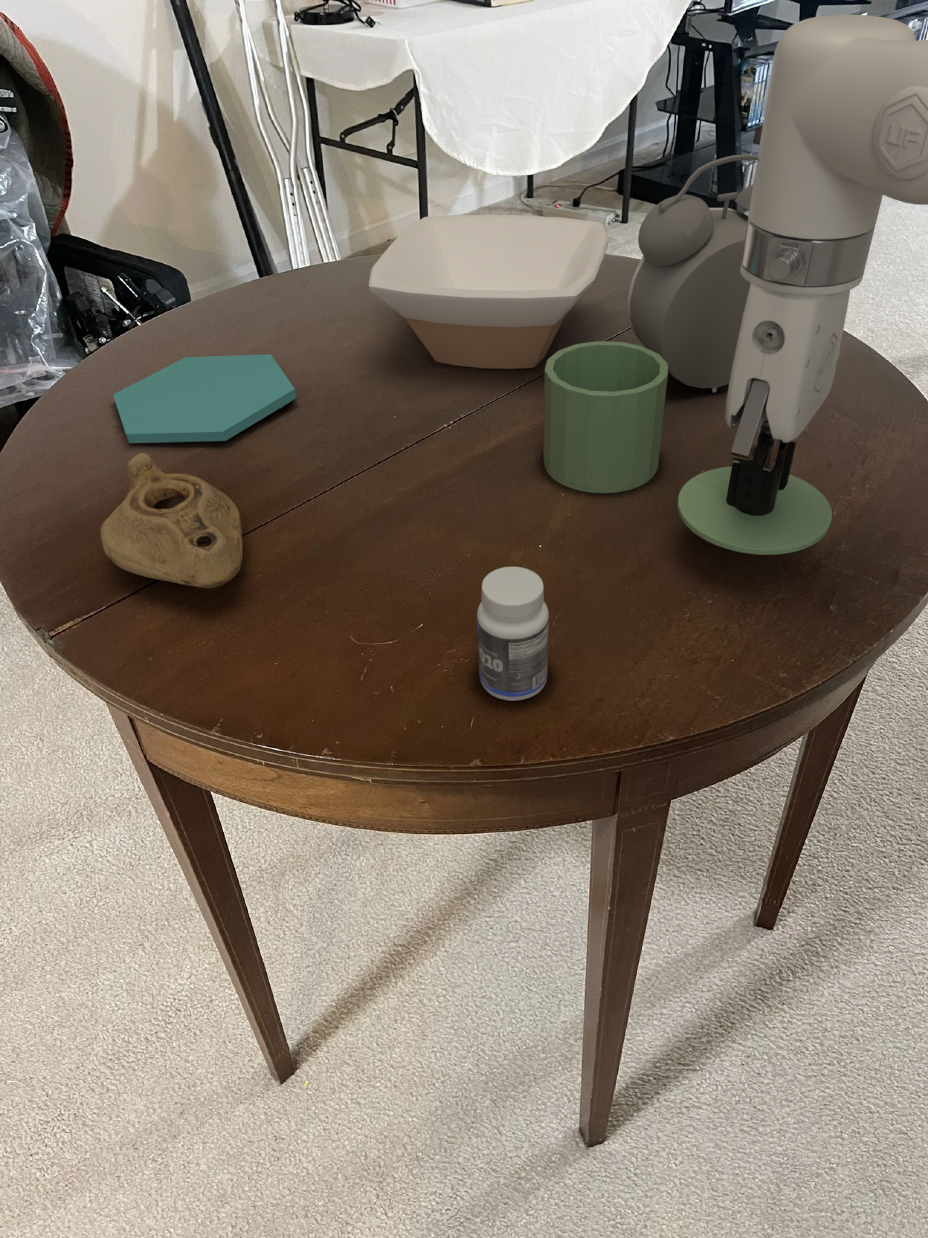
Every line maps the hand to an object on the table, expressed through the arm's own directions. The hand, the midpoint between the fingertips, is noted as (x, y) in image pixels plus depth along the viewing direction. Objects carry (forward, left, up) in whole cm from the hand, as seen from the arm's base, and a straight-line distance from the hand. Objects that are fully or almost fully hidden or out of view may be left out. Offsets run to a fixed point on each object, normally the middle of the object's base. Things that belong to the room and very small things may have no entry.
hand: (756, 494), depth 70 cm
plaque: (+31, -49, -6) cm, 58 cm away
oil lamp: (+39, -21, -6) cm, 45 cm away
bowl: (-2, -46, -6) cm, 46 cm away
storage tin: (+2, -18, -6) cm, 19 cm away
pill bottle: (+23, +3, -6) cm, 24 cm away
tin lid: (0, 0, -2) cm, 2 cm away
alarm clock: (-16, -26, -6) cm, 31 cm away
